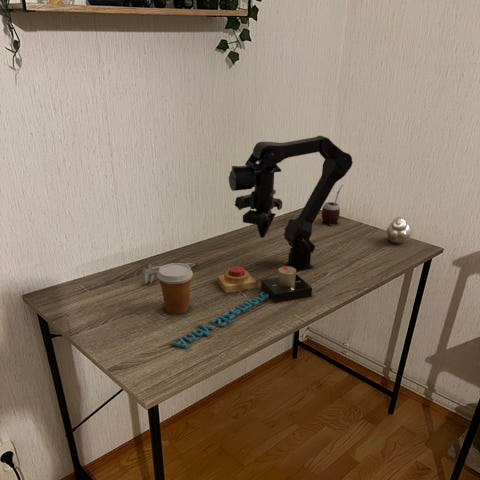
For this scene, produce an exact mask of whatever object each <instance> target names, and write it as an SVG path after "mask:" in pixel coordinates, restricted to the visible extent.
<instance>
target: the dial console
mask: <svg viewBox="0 0 480 480" xmlns="http://www.w3.org/2000/svg"><path fill="white" fill-rule="evenodd" d="M260 290H261V291H262V293H263V292H264V295H265V294H268V295H269V297H268V299H270V301H272V302H273V303H274V304H279V303H285V302H290V301H295V300H301V299H306V298H311V297H312V294H313V287H312V286H311V285H310V284H308V282H306V281H305V280H304V279H303V278H302V277H300V276H299V274H297V273H296V280H295V285H294V286H293V287H288V288H286V287H281V286H279V285H278V276H277V277H271V278H266V279H261V280H260Z"/></svg>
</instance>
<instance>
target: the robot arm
mask: <svg viewBox="0 0 480 480" xmlns="http://www.w3.org/2000/svg"><path fill="white" fill-rule="evenodd" d="M315 153H319V155H320V156H321V157H322V158H324V161H323V163H322V169H321V176H320V178H319V179H318V181H317V182H316V185H315V187H314V189H313V190H312V192H311V194H310V195H309V198H308V199H307V201H306V203H305V205H304V207H303V208H302V210H301V212H300V214H299V215H298V216H297V217H296V218H292V217H291V218H290V219H289V220H288V223H287V225H286V226H285V227H284V228H283V230H284V232H283V237H284V240H285V241H286V242H287V243H288V245H289V247H290V248H289V252H288V256H287V262H286V264H287V266H289V267H293V268H295V269H296V272H297V271H302V270H308V269H313V265H311V258H312V257H311V256H312V254H313V253H314V251H315V249H316V245H315V244H314V243H313V242H312V241H311V240H310V239H311V236H312V233H313V224H314V222H315V220H316V218H317V216H318V215H319V213H320V211H321V210H322V208H323V206H324V204H325V203H326V201H327V199H328V197H329V196H330V193H331V192H332V190H333V188H334V187H335V185H336V183H337V182H339V181H340V180H342V179H343V178H344V177H345V176H346V175H347V173H348V172H349V171H350V170H351V168H352V166H353V163H354V162H353V157H352V155H351V154H350V153H348V152H345V151H343V150H342V149H341V148H340V147H338V146H337V145H336V144H335V143H334V142H333V141H331V139H330V138H329V137H327V136H325V135H324V136H323V135H317V136H314V137H309V138H303V139H297V140H291V141H285V142H276V141H259V142H257V143H256V144H255V146H254V147H253V149H252V153H251V154H250V155H249V157H248V158H247V160H246V161H245V163H244V165H240V166H239V165H232V166H231V170H230V171H229V175H228V184H229V188H230V190H231V191H233V192H236V191H245V190H252V189H253V188H254V189H253V190H252V191H251V193H250V194H246V195H241V196H237V197H236V198H235V200H234V206H235V207H236V208H237V210H238V211H241V210H244V209H247V208H250V209H249V210H248V211H247V212H245V213H244V214H243V215H242V223H244V224H251V225H256V227H257V230H258V234H259V237H260V238H262V239H263V238H265V237H266V235H267V232H268V231H269V228H270V227H271V224H272V223H273V220H274V219H275V216H277V213H275V212H273V211H272V210H273V209H274V208H276V209H277V210H278V211H281V209H283V201H282V200H281V198H276V197H274V195H275V194H276V193H277V192H276V189H274V188H275V173H281V172H282V169H281V168H280V166H279V165H278V164H279V163H282V162H283V161H284V160H286V159H289V158H294V157H298V156H299V157H300V156H304V155H310V154H315Z"/></svg>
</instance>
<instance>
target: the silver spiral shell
mask: <svg viewBox="0 0 480 480" xmlns="http://www.w3.org/2000/svg"><path fill="white" fill-rule="evenodd" d="M412 233H413V228H412V225H411V223H410V222H409V221H407V220H406V219H405V218H404V217H401V216H397V217H394V218H393V219H392V221H391V222H390V223H389V224H388V226H387V228H386V235H387V239H388V240H389V241H390V242H392V243H394V244H403V243H406V242H407V241H408V240H409V239H410V238H411V236H412Z"/></svg>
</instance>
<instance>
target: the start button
mask: <svg viewBox="0 0 480 480" xmlns="http://www.w3.org/2000/svg"><path fill="white" fill-rule="evenodd" d="M228 270H229V275H230V276H233V277H241V276H243V275H244V270H245V269H244V267H242V266H237V265H234V266H231V267H229V269H228Z"/></svg>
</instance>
